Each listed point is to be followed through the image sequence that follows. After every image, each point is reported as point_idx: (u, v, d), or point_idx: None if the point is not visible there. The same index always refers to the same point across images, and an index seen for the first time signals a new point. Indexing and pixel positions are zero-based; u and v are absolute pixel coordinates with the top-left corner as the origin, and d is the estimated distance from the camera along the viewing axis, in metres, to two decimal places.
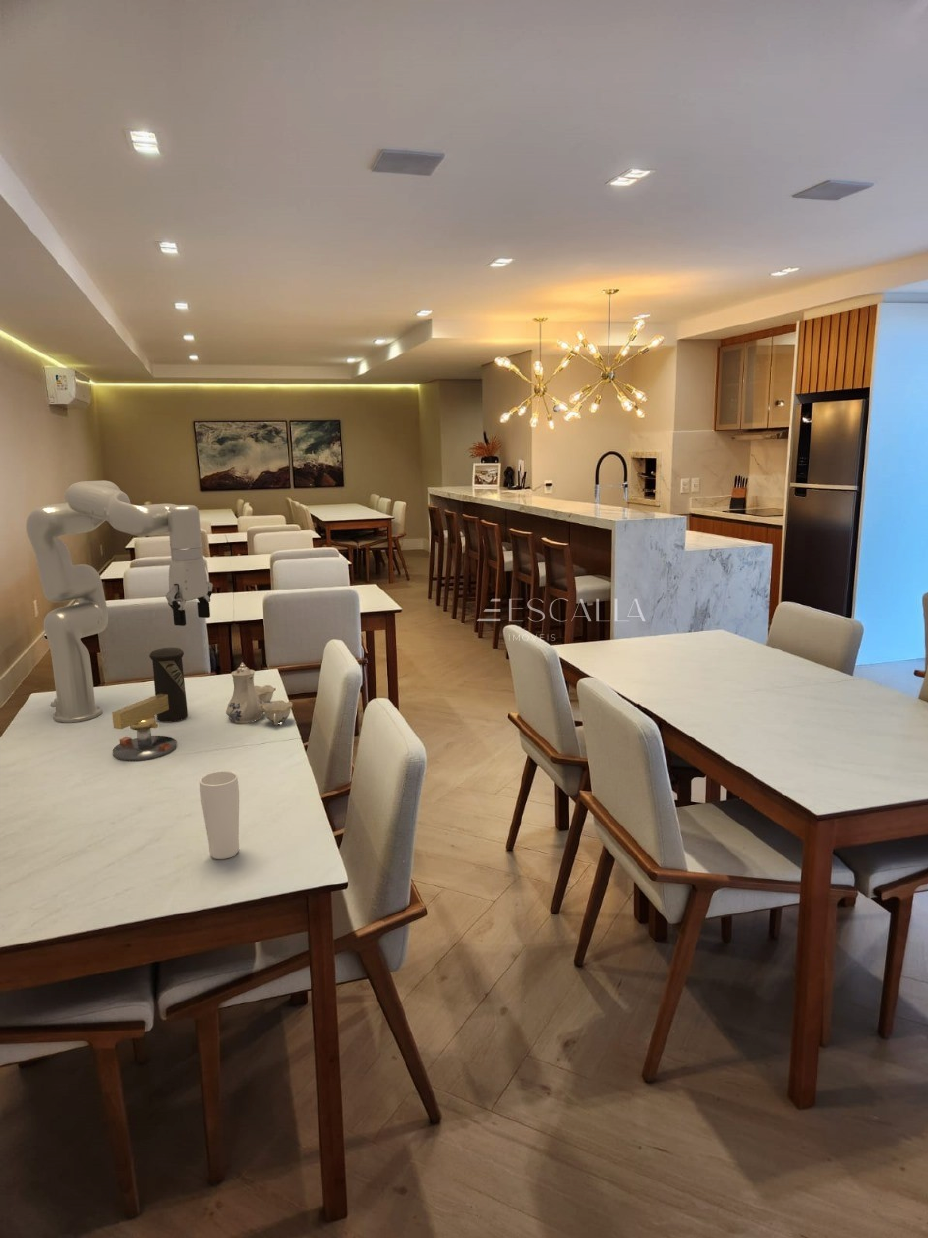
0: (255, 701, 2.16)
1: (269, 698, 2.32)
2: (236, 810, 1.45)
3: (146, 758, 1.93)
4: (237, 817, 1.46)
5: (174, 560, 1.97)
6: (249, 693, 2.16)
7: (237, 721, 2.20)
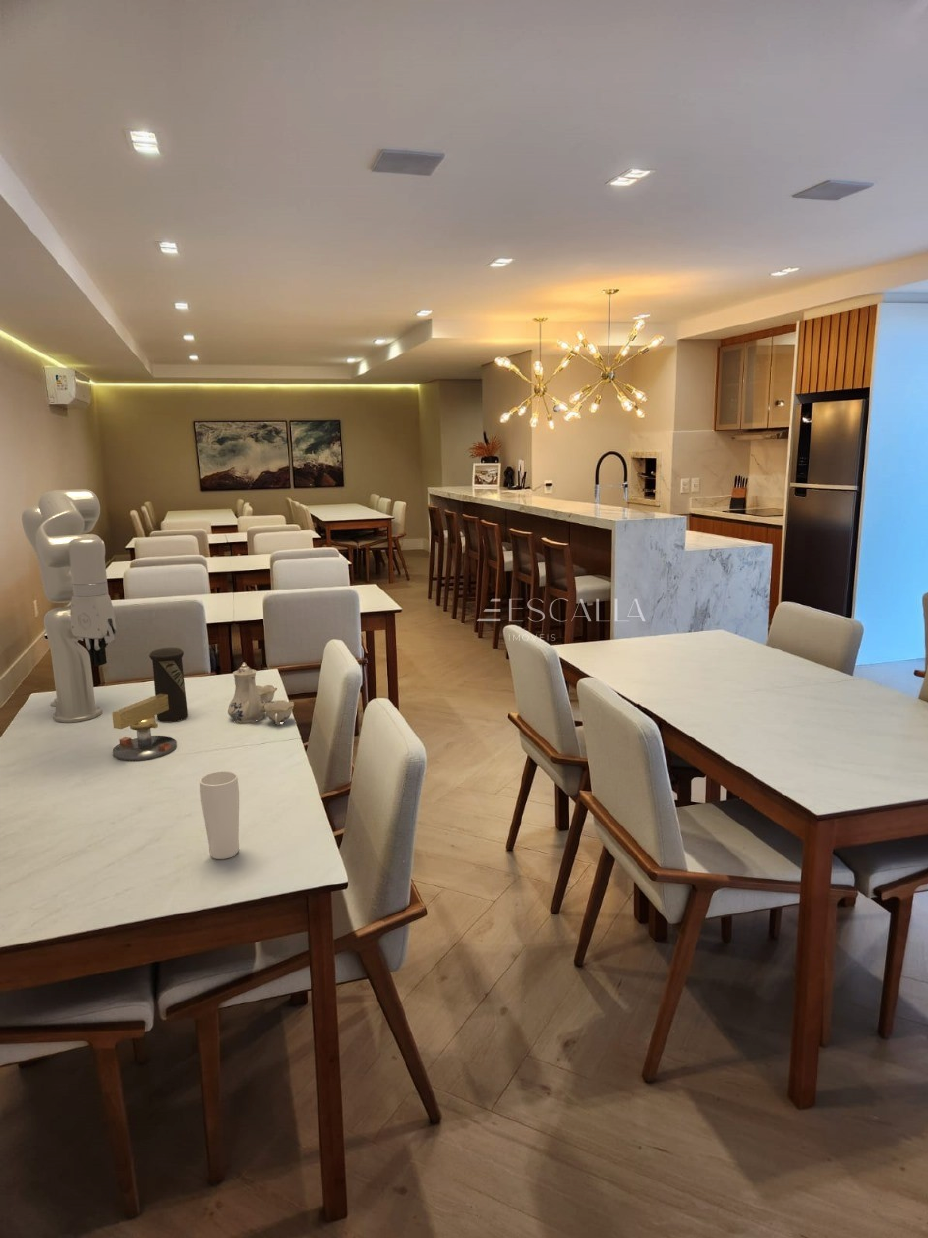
0: (257, 701, 2.17)
1: (270, 698, 2.32)
2: (236, 810, 1.45)
3: (146, 758, 1.93)
4: (237, 817, 1.46)
5: (98, 595, 1.87)
6: (250, 693, 2.16)
7: (239, 721, 2.20)
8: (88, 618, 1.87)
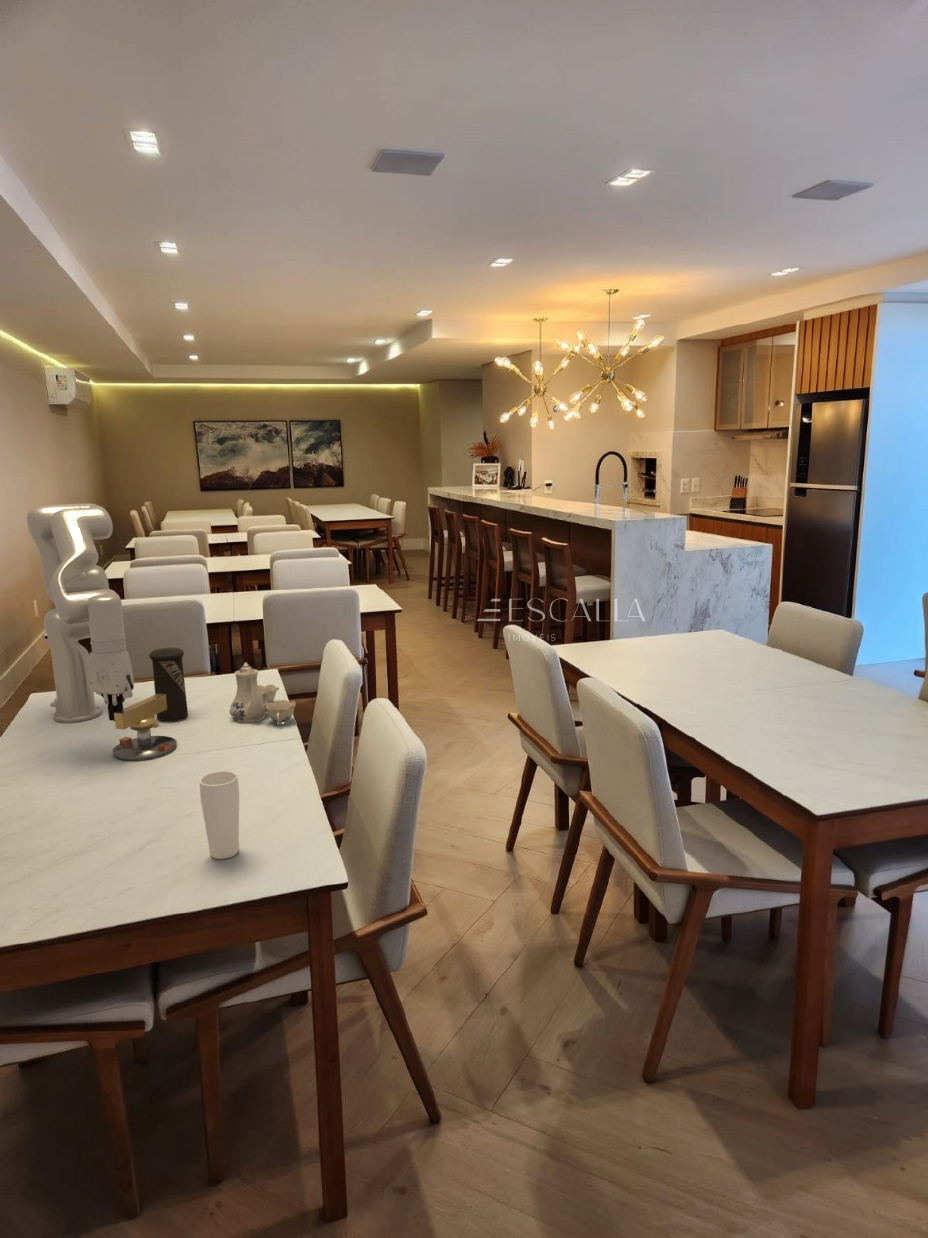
0: (258, 700, 2.17)
1: (272, 697, 2.32)
2: (236, 810, 1.45)
3: (146, 758, 1.93)
4: (237, 817, 1.46)
5: (117, 652, 1.88)
6: (252, 693, 2.17)
7: (240, 720, 2.20)
8: (106, 674, 1.89)
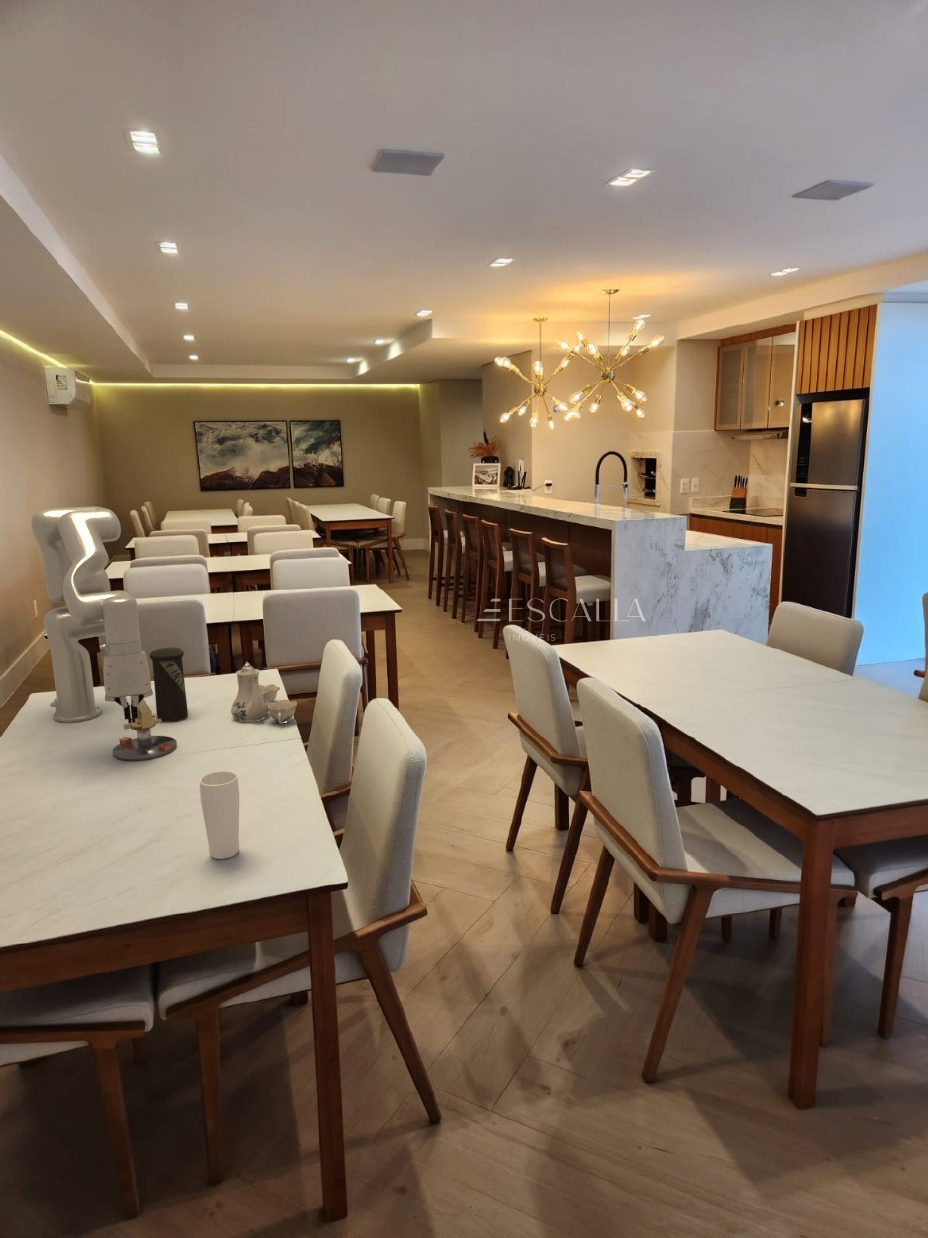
0: (260, 700, 2.17)
1: (273, 697, 2.32)
2: (236, 810, 1.45)
3: (146, 758, 1.93)
4: (237, 817, 1.46)
5: (140, 651, 1.89)
6: (254, 692, 2.17)
7: (242, 720, 2.20)
8: (133, 675, 1.88)
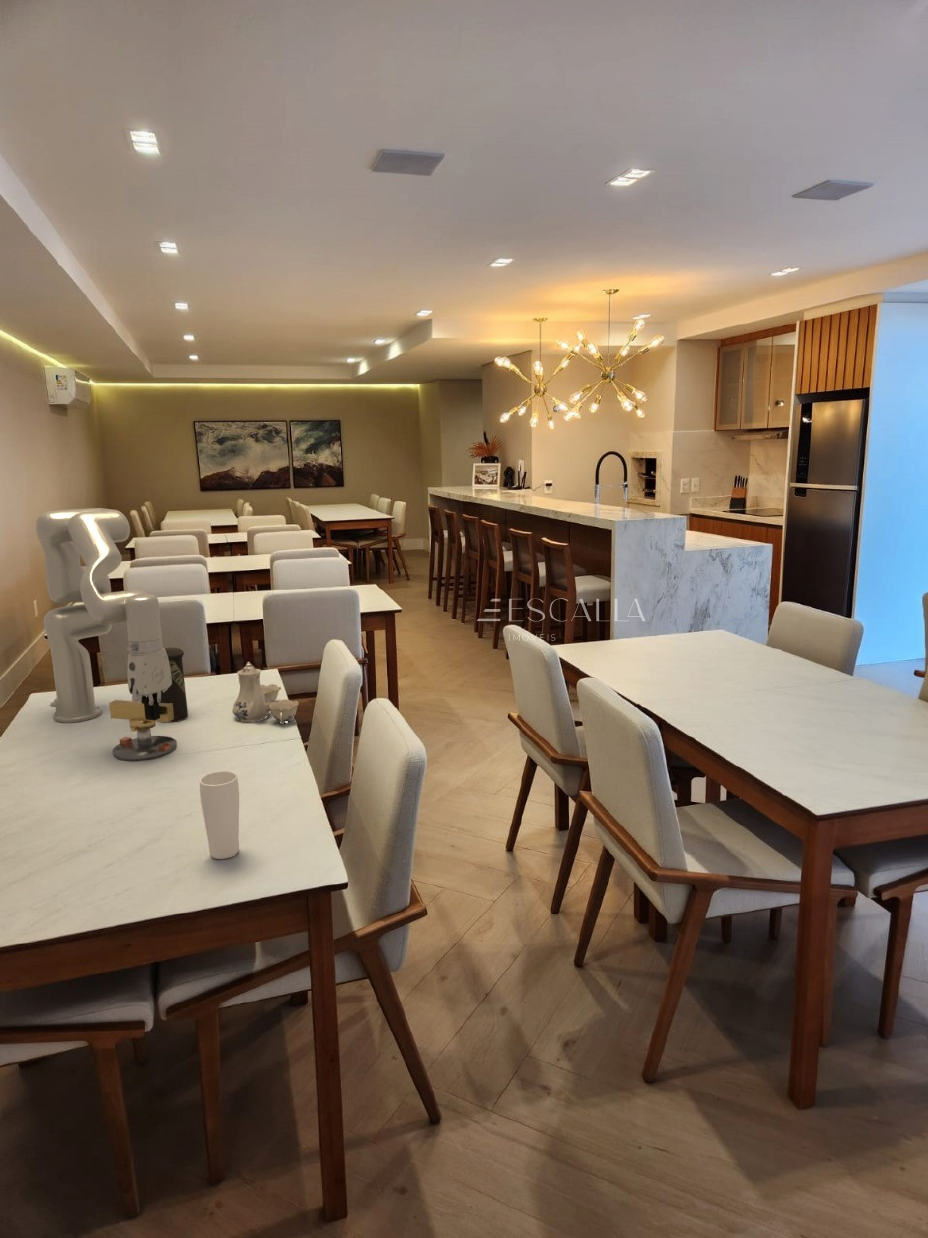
0: (261, 700, 2.17)
1: (274, 697, 2.33)
2: (236, 810, 1.45)
3: (146, 758, 1.93)
4: (237, 817, 1.46)
5: None
6: (255, 692, 2.17)
7: (243, 720, 2.20)
8: (161, 670, 1.92)
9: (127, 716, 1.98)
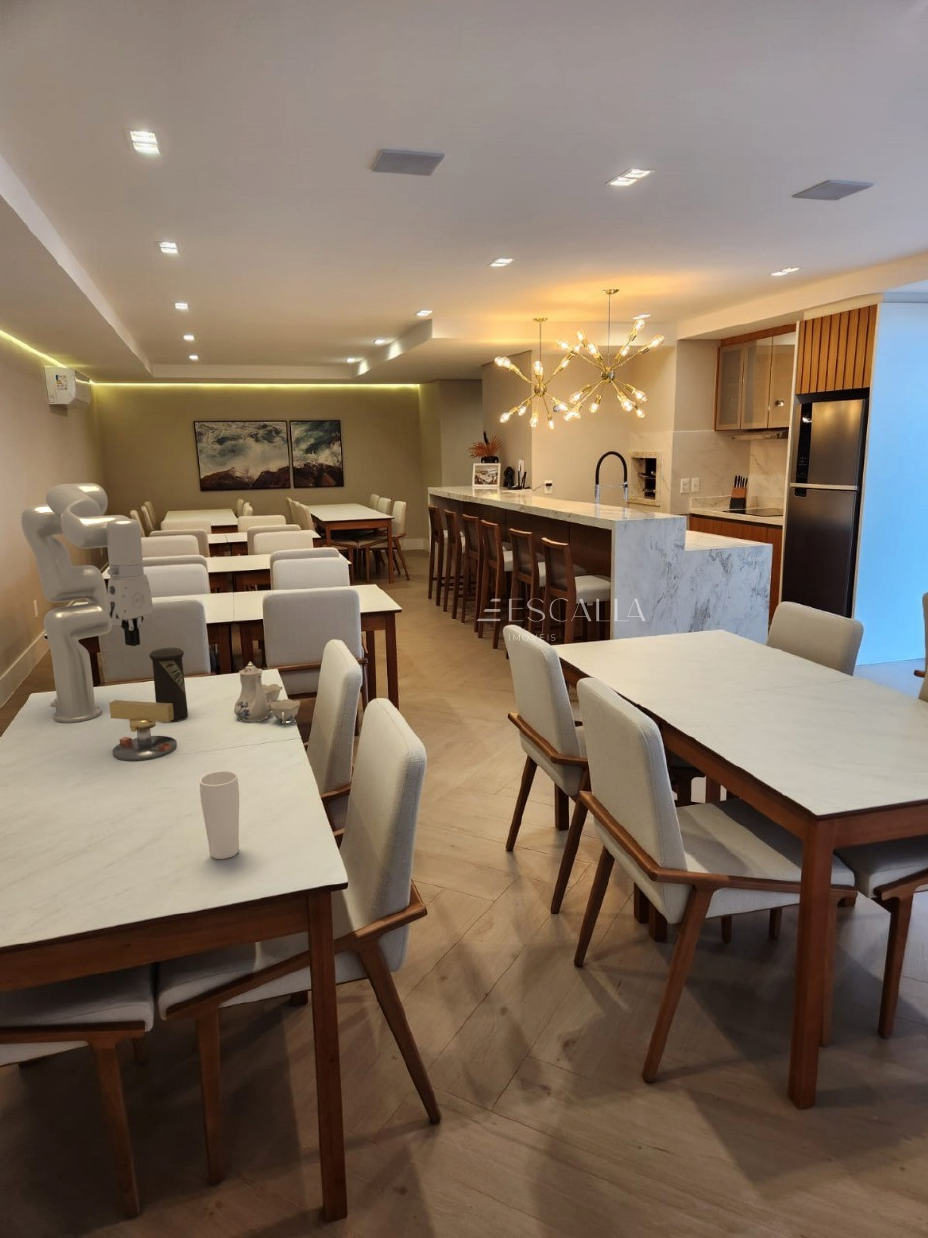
0: (263, 700, 2.17)
1: (276, 697, 2.33)
2: (236, 810, 1.45)
3: (146, 758, 1.93)
4: (237, 817, 1.46)
5: None
6: (257, 692, 2.17)
7: (245, 720, 2.21)
8: (141, 596, 1.92)
9: (127, 716, 1.98)
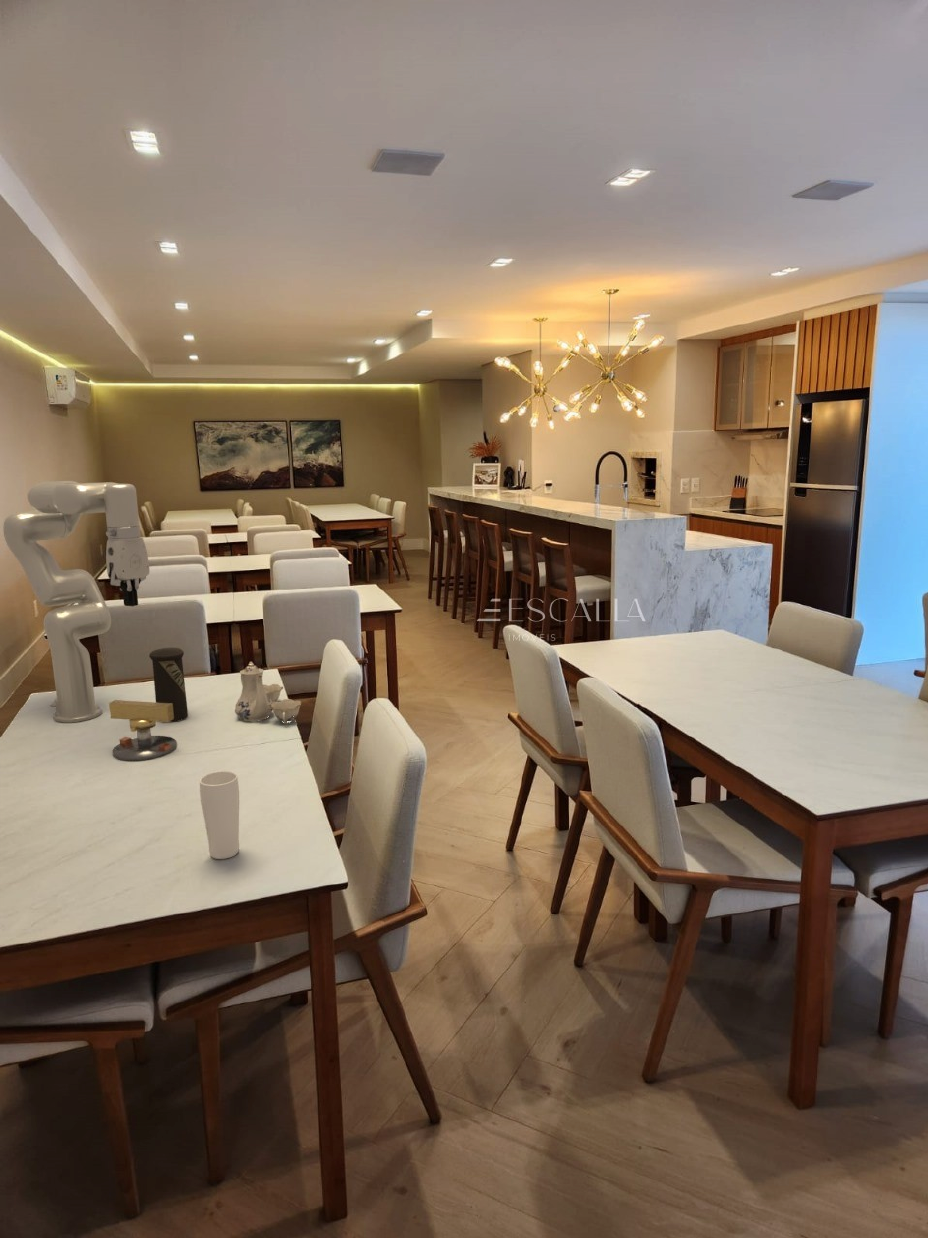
0: (264, 700, 2.18)
1: (277, 697, 2.33)
2: (236, 810, 1.45)
3: (146, 758, 1.93)
4: (237, 817, 1.46)
5: None
6: (258, 692, 2.17)
7: (246, 720, 2.21)
8: (139, 558, 2.01)
9: (127, 716, 1.98)
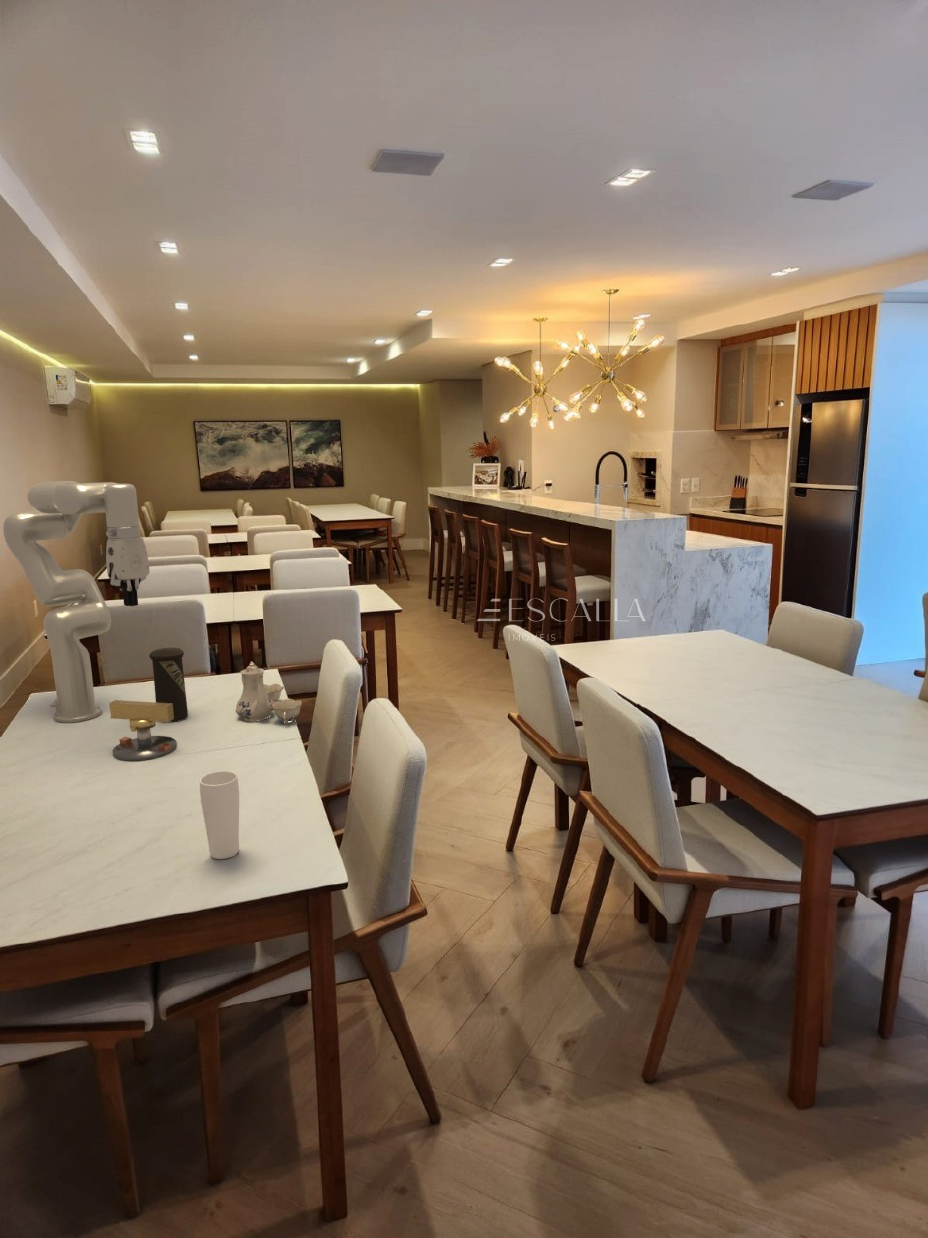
0: (265, 699, 2.18)
1: (277, 697, 2.33)
2: (236, 810, 1.45)
3: (146, 758, 1.93)
4: (237, 817, 1.46)
5: None
6: (259, 692, 2.17)
7: (247, 719, 2.21)
8: (139, 558, 2.01)
9: (127, 716, 1.98)
